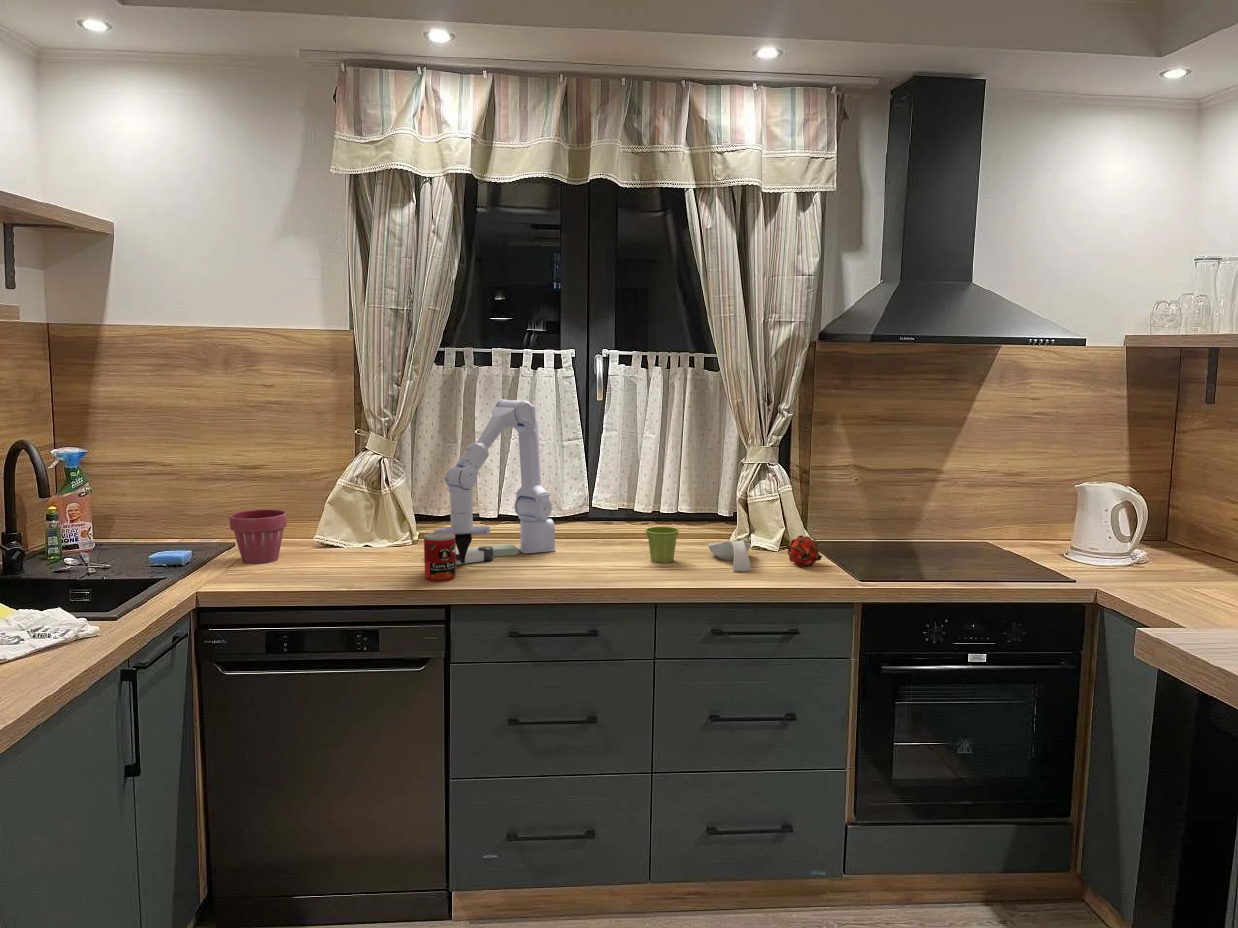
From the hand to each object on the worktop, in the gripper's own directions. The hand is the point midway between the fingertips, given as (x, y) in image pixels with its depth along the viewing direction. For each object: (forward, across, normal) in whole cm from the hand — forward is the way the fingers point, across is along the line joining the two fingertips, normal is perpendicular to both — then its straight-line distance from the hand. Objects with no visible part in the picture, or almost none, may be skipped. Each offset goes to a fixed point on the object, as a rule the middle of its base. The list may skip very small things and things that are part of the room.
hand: (462, 562), depth 245 cm
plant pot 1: (+1, +50, -24) cm, 56 cm away
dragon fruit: (+2, -87, +27) cm, 91 cm away
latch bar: (+1, -2, -4) cm, 4 cm away
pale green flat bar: (+1, -5, -11) cm, 12 cm away
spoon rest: (+2, -71, +18) cm, 73 cm away
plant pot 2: (+1, -52, +11) cm, 54 cm away
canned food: (+1, +8, +11) cm, 13 cm away
